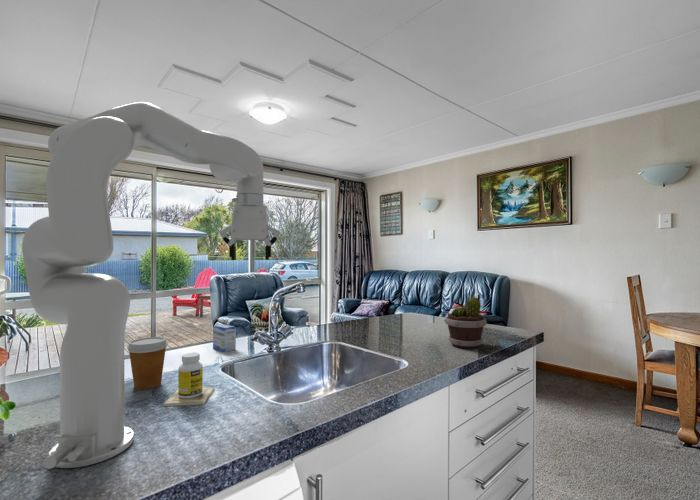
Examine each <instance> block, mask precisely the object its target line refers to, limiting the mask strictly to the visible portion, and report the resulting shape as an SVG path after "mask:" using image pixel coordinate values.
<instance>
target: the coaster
mask: <svg viewBox="0 0 700 500" xmlns="http://www.w3.org/2000/svg"><path fill="white" fill-rule="evenodd" d="M214 391H215V387H202V394H201V395H199V396H197V397H194V398H188V399H185V398H180V397H179V395H178V388H177V389H176V391H175V392H173V394H172V395H171V396H170V397H168V399H166V401H165V402H164V403H163V407H177V406H196V405H197V406H198V405H205V404H206V403H207V401H208V400H209V398H210V397H211V395H212V394H213V392H214Z"/></svg>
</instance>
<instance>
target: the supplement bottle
mask: <svg viewBox="0 0 700 500" xmlns="http://www.w3.org/2000/svg"><path fill="white" fill-rule="evenodd" d="M200 355H201V354H200V353H199V352H189V353H188V352H187V353H183V354H182V355H181V362H182V363H181V364H180V365H179V366H178V380H177V381H178V384H177V385H178V388H177V389H178V395H179V397H180V398H185V399H188V398H194V397H197V396H199V395H201V394H202V388H203V379H204V378H203V374H204V373H203V363H202V362H201V361H200Z"/></svg>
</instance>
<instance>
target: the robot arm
mask: <svg viewBox="0 0 700 500" xmlns="http://www.w3.org/2000/svg"><path fill="white" fill-rule="evenodd" d="M137 147H148V148H151V149H153V150H155V151H158V152H160V153H162V154H164V155H167V156H170V157H172V158H174V159H176V160H179V161H180V162H183V163H187V164H193V165H208V166H209V171H210V172H211V174H212V175H213V176H214V177H215V178H216V179H217V180H220V181H222V182H223V181H225V182H236V196H234V197H231V202H232V203H235V204H236V205H233V210H232V215H231V216H232V217H231V225H230V226H227V227H226V228H224V229H222V230H221V229H220V231H219V235H220V237H221V239H222V241H223V242H225V244H227V246H228V248H229V249H228V250H229V251H228V252H229V253H228V257H229V258H231V261H236V259H237V249H236V248H237V247H236V246H235V244H236V243H238V241H263V242H264V243H265V244H266V246H265V247H264V248H265V249H264V250H265V255H264V256H265V260H267V261H269V260H270V258H271V257H272V246H273V245H274V244H275V243H276V242H277V241H278V239H279V237H280V235H281V231H280V230H278V229H276V228H275V227H272V226H270V225H269V221H268V219H269V218H268V213H267V212H268V211H267V207H266V205H264V163H263V162H262V159H261V157H260V155H259V154H258V152H257V151H256V150H255V149H253V148H252V147H250V146H249V145H248V144H246V143H244V142H242V141H240V140H239V139H235V138H232V137H231V136H226V135H222V134H218V133H215V132H212V131H207V130H202V129H199V128H197V127H194V126H193V125H191V124H189V123H187V122H186V121H184V120H182V119H180V118H179V117H176V116H175V115H174V114H171V113H170V112H168V111H166V110H165V109H162V108H161V107H159V106H157V105H154V104H152V103H150V102H145V101H138V102H133V103H128V104H124V105H121V106H116V107H113V108H110V109H107V110H105V111H102V112H99V113H97V114H94V115H92V116H88V117H85V118H82V119H79V120H76V121H74V122H70V123H67V124H65V125H62V126H59V127H57V128H55V129H54V130H53V131H52V132H51V134H50V135H49V137H48V141H47V149H48V151H49V153H50V155H51V159H50V160H49V161H50V162H49V164H48V167H47V170H46V175H45V177H46V179H45V188H46V189H45V190H46V198H47V199H46V200H47V208H48V216H44V217H42V218H39V219H37V220H35V221H34V222H32V224H30V225H29V227H27V229H26V231H25V233H24V234H23V238H22V243H21V244H22V245H21V252H22V259H23V264H24V270H25V271H24V272H25V277H26V281H27V283H26V284H27V288H28V292H29V297H30V302H31V305H32V308H33V309H34V311H35V312H36V314H37V315H38V316H39V317H41V318H42V319H44V320H45V321H48V322H49V323H50V322H51V323H55V324H60V325H61V324H62V325H66V328H65V333H64V335H63V339H62V342H61V345H60V349H59V350H60V351H59V437H58V438H57V442H58V443H56V444H55V445H54V446H53V447H51V449H49V451H48V453H47V454H48V455H47V457H45V458H44V459H43V460H42V461H43V462H42V465H43V467H44V468H46V469H49V470H51V469H54V468H60V469H74V468H82V467H86V466H91V465H95V464H99V463H101V462H104V461H106V460H110V459H111V458H113V457H115V456H117V455H119V454H121V453H123V452H124V451H125V450H126V449H128V448H129V447H130V446H131V445H132V444H133V442H134V440H135V432H134V430H133V429H132V428H130V427H128V426H125V337H126V336H125V335H126V326H127V321H128V316H129V312H130V305H131V296H130V292H129V289H128V287H127V286H126V285H125V284H124V283H123V281H121V280H120V279H118V278H117V277H114V276H111V275H108V274H104V273H86V269H85V268H86V267H88V268H89V267H95V266H98V265H101V264H103V263H105V262H107V261H108V259H110V258H111V257H112V255H113V251H114V236H113V230H112V229H113V228H112V222H111V217H110V216H111V215H110V210H109V209H110V208H109V202H108V182H109V179H110V176H111V174H112V173H113V171H114V170H115V168H117V166H119V165H120V163H123V162H124V161H126V160H127V159H128V158H129V157H130V155H131V154H132V152H133V151H134V148H137ZM269 231H270V232H271V233H273V237H272V238H270V239H269ZM228 233H230V234H231V239H230V238H229V237H228V236H227V234H228Z"/></svg>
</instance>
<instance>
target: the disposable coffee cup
mask: <svg viewBox="0 0 700 500" xmlns="http://www.w3.org/2000/svg"><path fill="white" fill-rule="evenodd" d="M167 346H168V342H167V339H166V337H162V336H153V337H152V336H149V337H141V338H136V339H132V340H130V341H129V342H128V346H127V347H126V349H127V352H128V354H129V360H130V367H131V373H132V380H133V388H134V389H135V390H139V391H142V390H151V389H155V388H157V387H159V386H161V384H162V378H163V372H164V371H163V370H164V364H165V363H164V362H165V356H166V348H167Z"/></svg>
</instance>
